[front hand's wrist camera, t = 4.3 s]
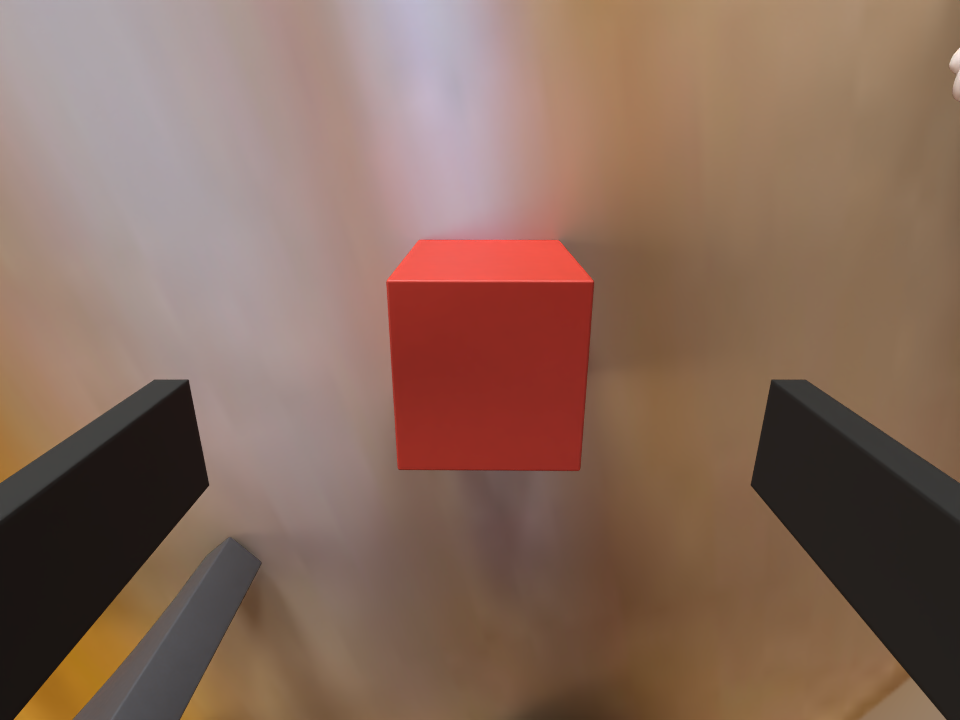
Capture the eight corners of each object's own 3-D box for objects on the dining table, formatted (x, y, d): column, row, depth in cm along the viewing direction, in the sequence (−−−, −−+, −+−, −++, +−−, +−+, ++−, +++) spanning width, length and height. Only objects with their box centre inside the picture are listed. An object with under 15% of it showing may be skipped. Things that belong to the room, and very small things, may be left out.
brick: (418, 239, 21) (385, 280, 14) (559, 240, 20) (595, 280, 14) (423, 377, 22) (397, 471, 16) (552, 378, 22) (580, 471, 16)
